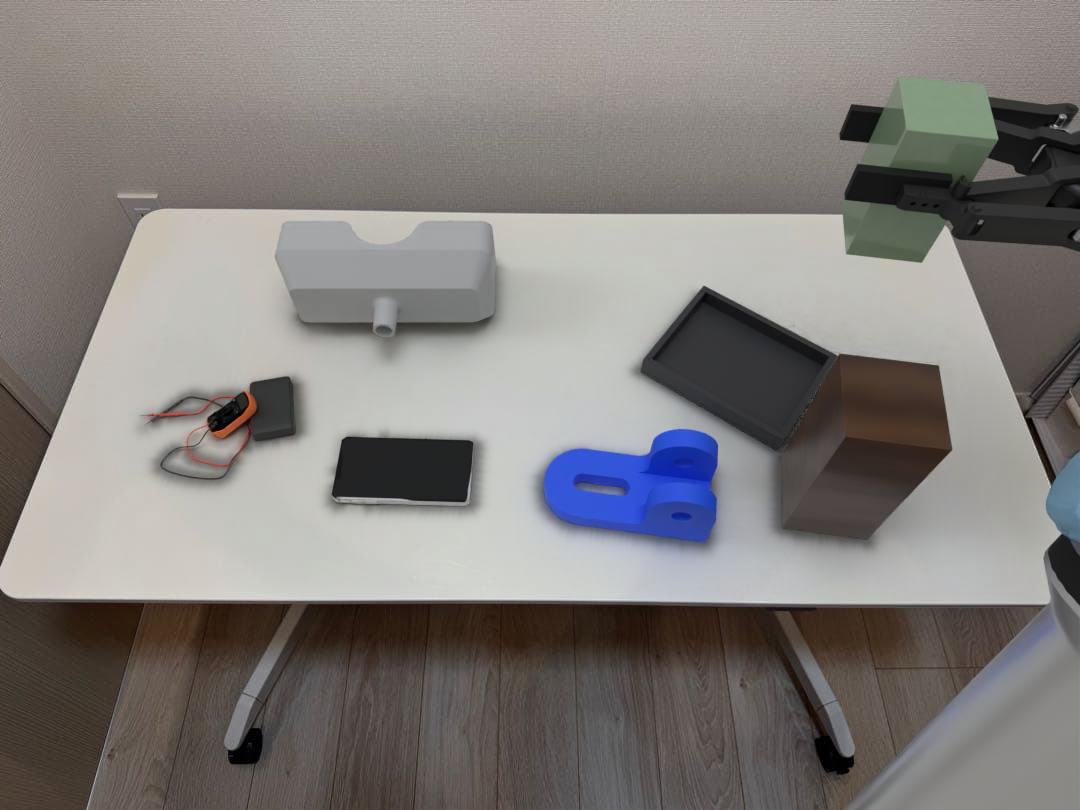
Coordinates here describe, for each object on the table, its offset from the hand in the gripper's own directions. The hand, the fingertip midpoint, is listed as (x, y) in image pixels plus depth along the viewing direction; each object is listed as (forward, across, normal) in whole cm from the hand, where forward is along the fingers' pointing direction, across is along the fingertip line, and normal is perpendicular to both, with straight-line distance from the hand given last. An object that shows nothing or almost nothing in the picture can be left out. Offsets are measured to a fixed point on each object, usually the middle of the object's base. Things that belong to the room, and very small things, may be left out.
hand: (848, 151), depth 57 cm
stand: (-10, -8, -39) cm, 41 cm away
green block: (-5, 0, -8) cm, 9 cm away
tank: (+43, +10, -39) cm, 59 cm away
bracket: (+12, -12, -39) cm, 43 cm away
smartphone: (+36, -13, -39) cm, 55 cm away
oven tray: (0, +8, -39) cm, 40 cm away
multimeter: (+59, -11, -39) cm, 72 cm away
